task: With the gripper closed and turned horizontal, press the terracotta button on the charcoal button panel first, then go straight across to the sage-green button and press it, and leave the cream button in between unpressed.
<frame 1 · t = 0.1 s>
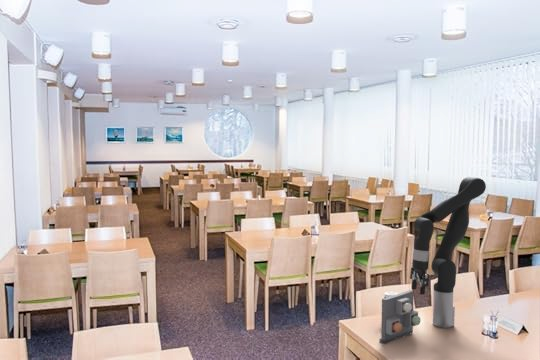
hand: (418, 291, 235), 17 cm above the table, tool pointing down, fingers open, 8 cm apart
button panel: (399, 338, 221), on the table
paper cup: (391, 321, 244), on the table
sage button: (415, 320, 222), point 8 cm above the table, slide at 0.0 cm
cream button: (406, 307, 217), point 15 cm above the table, slide at 0.0 cm
terracotta button: (397, 327, 213), point 8 cm above the table, slide at 0.0 cm
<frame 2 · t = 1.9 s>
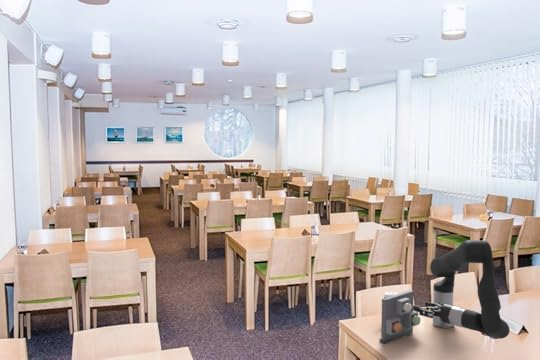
hand: (419, 305, 203), 21 cm above the table, tool horizontal, fingers open, 8 cm apart
nothing on the table moved.
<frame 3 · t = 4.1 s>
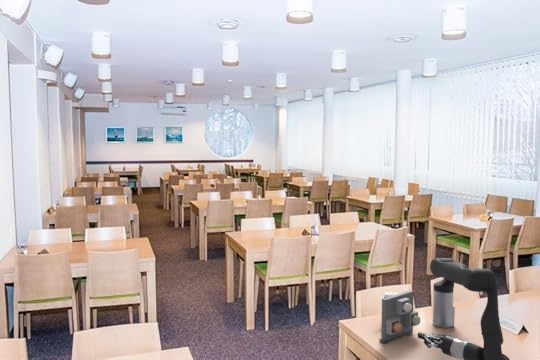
hand: (418, 334, 205), 8 cm above the table, tool horizontal, fingers closed
nothing on the table moved.
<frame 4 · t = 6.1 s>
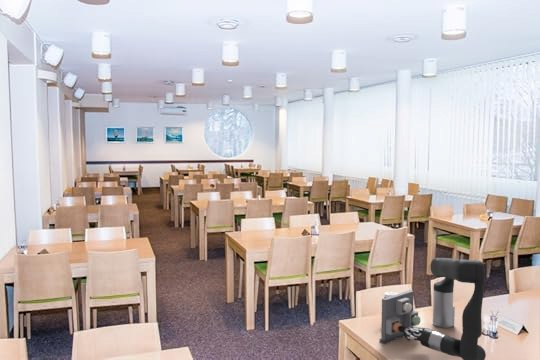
hand: (399, 328, 212), 8 cm above the table, tool horizontal, fingers closed
terracotta button: (396, 327, 213), point 8 cm above the table, slide at 0.0 cm, touching gripper
everything else where it was.
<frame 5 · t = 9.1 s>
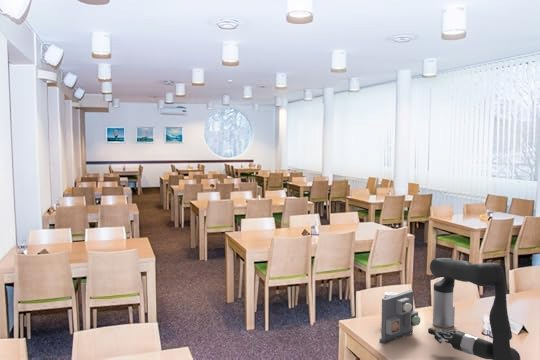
hand: (429, 330, 210), 8 cm above the table, tool horizontal, fingers closed
terracotta button: (393, 325, 215), point 8 cm above the table, slide at 1.9 cm
everything else where it was.
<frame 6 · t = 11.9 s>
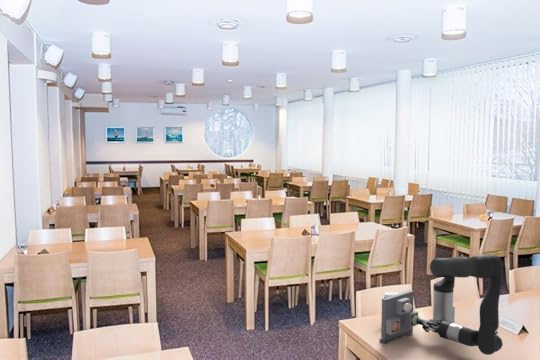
hand: (417, 320, 221), 8 cm above the table, tool horizontal, fingers closed
sage button: (415, 319, 222), point 8 cm above the table, slide at 0.2 cm, touching gripper
everything else where it was.
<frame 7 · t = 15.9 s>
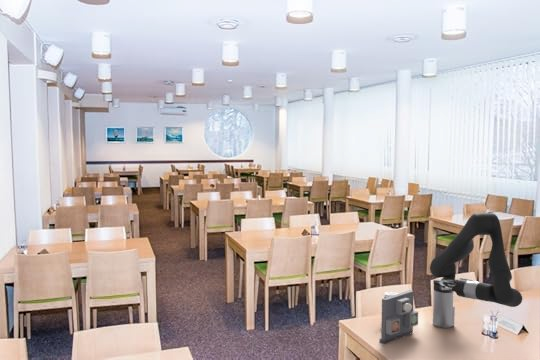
hand: (434, 282, 214), 28 cm above the table, tool horizontal, fingers closed
sage button: (411, 318, 224), point 8 cm above the table, slide at 1.9 cm
everything else where it was.
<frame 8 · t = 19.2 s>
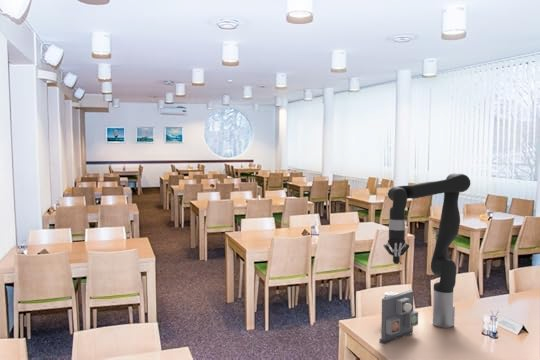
hand: (396, 263, 235), 31 cm above the table, tool pointing down, fingers closed
nothing on the table moved.
at the end: terracotta button slide at 1.9 cm; sage button slide at 1.9 cm; cream button slide at 0.0 cm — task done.
